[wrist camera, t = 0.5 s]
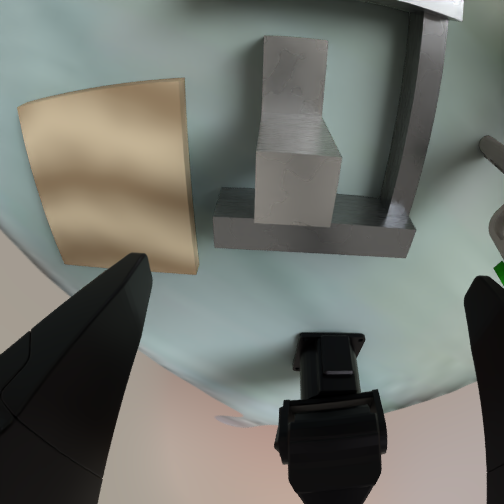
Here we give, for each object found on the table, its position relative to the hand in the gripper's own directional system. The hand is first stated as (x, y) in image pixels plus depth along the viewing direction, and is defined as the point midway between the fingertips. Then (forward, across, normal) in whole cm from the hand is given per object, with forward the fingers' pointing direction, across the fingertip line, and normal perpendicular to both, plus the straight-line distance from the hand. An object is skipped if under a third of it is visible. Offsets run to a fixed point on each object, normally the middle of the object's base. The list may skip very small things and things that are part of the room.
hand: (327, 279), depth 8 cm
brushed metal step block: (+13, +1, -2) cm, 13 cm away
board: (+13, +12, +4) cm, 18 cm away
